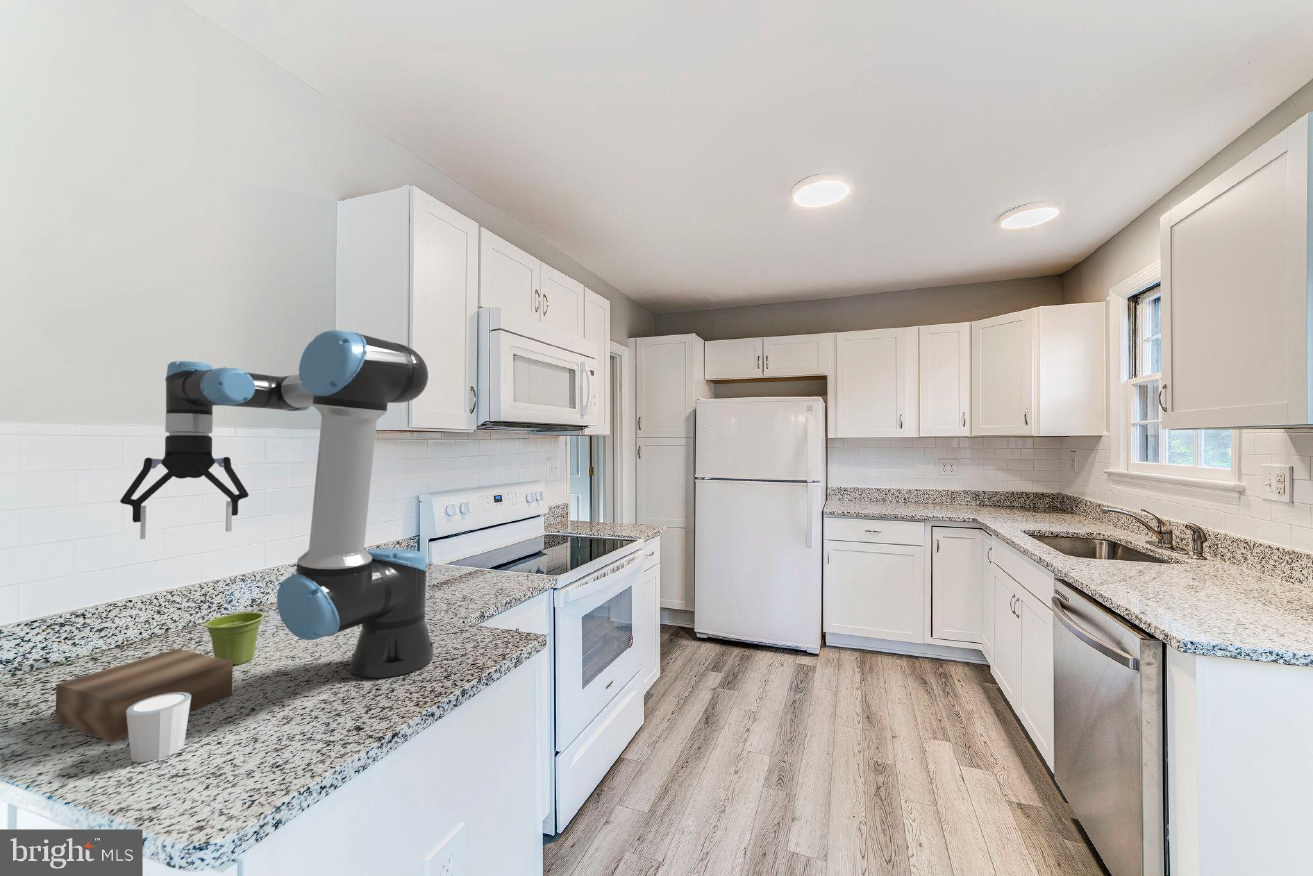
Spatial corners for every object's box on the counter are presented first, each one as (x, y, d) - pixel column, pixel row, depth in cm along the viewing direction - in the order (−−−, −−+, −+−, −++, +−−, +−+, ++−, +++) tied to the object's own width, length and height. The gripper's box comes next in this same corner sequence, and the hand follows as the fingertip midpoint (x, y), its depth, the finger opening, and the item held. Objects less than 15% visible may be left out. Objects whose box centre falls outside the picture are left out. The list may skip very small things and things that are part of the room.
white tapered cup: (125, 750, 76) (126, 701, 76) (188, 733, 81) (189, 687, 81) (124, 771, 71) (125, 719, 71) (191, 751, 76) (193, 702, 76)
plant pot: (230, 673, 103) (231, 628, 103) (191, 668, 104) (193, 624, 105) (274, 654, 112) (275, 613, 112) (238, 651, 114) (239, 610, 114)
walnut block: (231, 695, 93) (232, 661, 93) (113, 742, 78) (114, 701, 78) (176, 681, 99) (176, 648, 99) (55, 722, 84) (56, 684, 84)
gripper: (259, 436, 124) (257, 526, 123) (105, 434, 106) (103, 539, 106) (264, 435, 118) (263, 529, 118) (103, 432, 101) (101, 543, 100)
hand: (187, 534), depth 112 cm, fingers open, 13 cm apart
